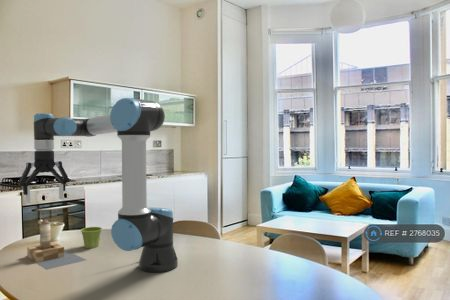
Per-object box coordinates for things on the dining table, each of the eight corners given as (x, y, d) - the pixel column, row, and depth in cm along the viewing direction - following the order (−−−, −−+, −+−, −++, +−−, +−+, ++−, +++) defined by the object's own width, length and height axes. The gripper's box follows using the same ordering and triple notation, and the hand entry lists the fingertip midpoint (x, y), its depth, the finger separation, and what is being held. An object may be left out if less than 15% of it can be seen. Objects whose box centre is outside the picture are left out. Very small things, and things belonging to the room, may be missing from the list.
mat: (86, 261, 158) (86, 260, 158) (46, 270, 146) (46, 269, 146) (62, 249, 174) (62, 248, 174) (24, 257, 163) (24, 256, 163)
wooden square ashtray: (64, 256, 163) (64, 247, 162) (37, 262, 155) (36, 252, 155) (53, 251, 170) (53, 242, 170) (27, 256, 162) (27, 247, 162)
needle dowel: (52, 256, 162) (51, 219, 162) (42, 258, 160) (41, 221, 159) (48, 254, 165) (48, 218, 165) (38, 256, 162) (38, 220, 162)
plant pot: (98, 250, 173) (97, 231, 173) (77, 250, 174) (77, 231, 173) (105, 244, 183) (104, 226, 182) (85, 244, 183) (85, 226, 183)
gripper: (69, 149, 173) (70, 196, 173) (8, 150, 155) (9, 203, 156) (77, 149, 168) (77, 198, 168) (14, 151, 150) (15, 205, 150)
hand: (45, 200), depth 162 cm, fingers open, 13 cm apart
